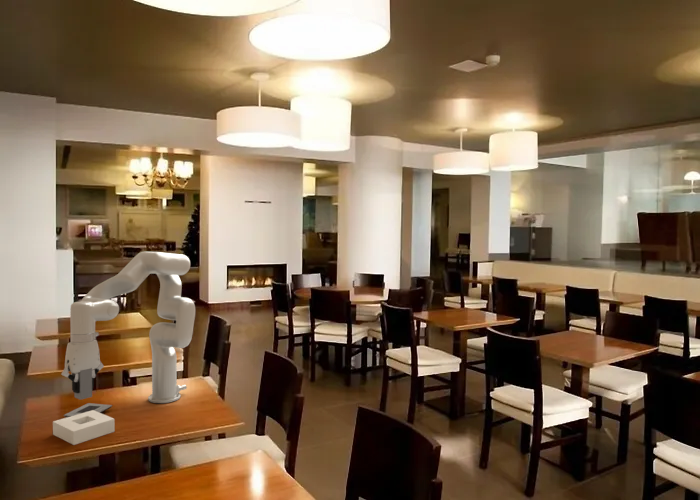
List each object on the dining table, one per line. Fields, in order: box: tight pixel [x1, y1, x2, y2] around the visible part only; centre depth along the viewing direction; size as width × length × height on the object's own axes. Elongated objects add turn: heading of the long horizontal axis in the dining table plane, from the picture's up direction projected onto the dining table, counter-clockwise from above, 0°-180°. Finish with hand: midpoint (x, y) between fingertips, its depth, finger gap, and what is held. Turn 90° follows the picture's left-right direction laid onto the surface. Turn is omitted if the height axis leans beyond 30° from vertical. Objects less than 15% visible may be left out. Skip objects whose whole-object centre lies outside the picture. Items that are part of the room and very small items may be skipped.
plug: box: [73, 368, 93, 400], centre depth 178 cm, size 4×4×12 cm
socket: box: [52, 410, 116, 446], centre depth 179 cm, size 14×14×4 cm
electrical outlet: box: [63, 402, 113, 418], centre depth 196 cm, size 13×10×2 cm
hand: (83, 390), depth 178 cm, fingers closed on plug, 4 cm apart
